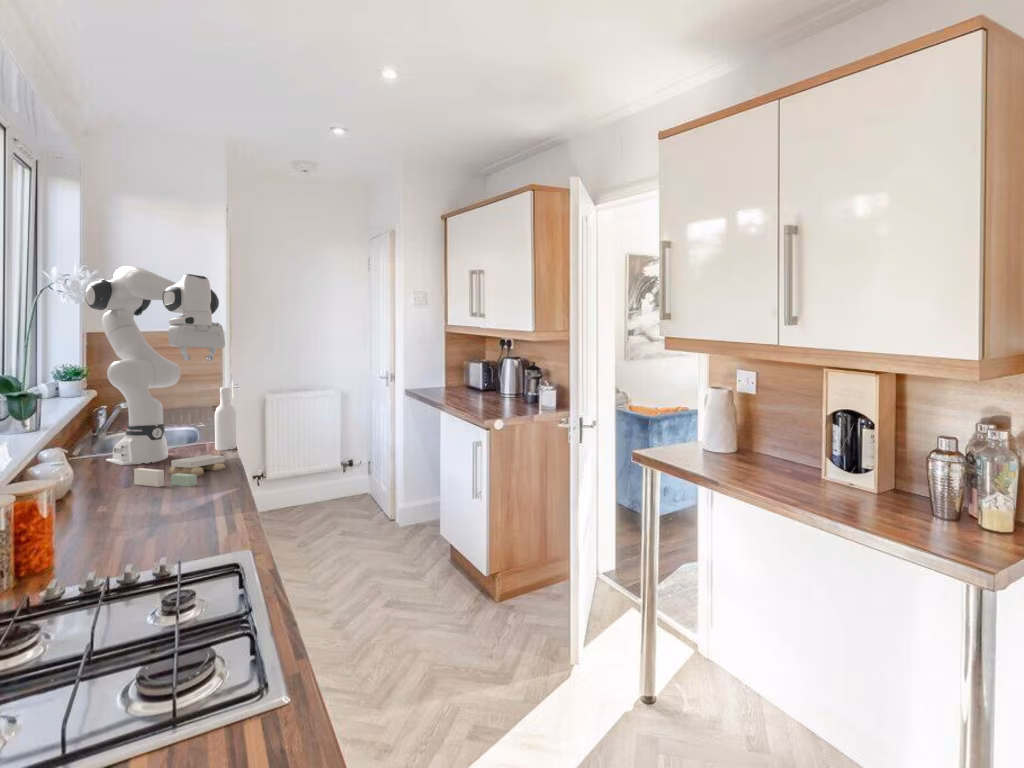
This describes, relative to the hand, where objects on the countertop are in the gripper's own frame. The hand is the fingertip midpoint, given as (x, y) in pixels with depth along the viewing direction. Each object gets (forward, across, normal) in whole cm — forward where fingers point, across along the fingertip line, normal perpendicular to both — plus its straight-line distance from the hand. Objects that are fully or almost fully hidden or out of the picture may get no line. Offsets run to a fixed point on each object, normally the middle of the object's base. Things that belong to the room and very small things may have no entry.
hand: (198, 360), depth 204 cm
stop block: (+40, +18, -2) cm, 44 cm away
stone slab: (+36, -1, -2) cm, 36 cm away
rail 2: (+40, -5, -2) cm, 41 cm away
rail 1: (+40, +4, -2) cm, 41 cm away
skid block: (+41, +13, +8) cm, 44 cm away
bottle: (+40, -30, -21) cm, 54 cm away
